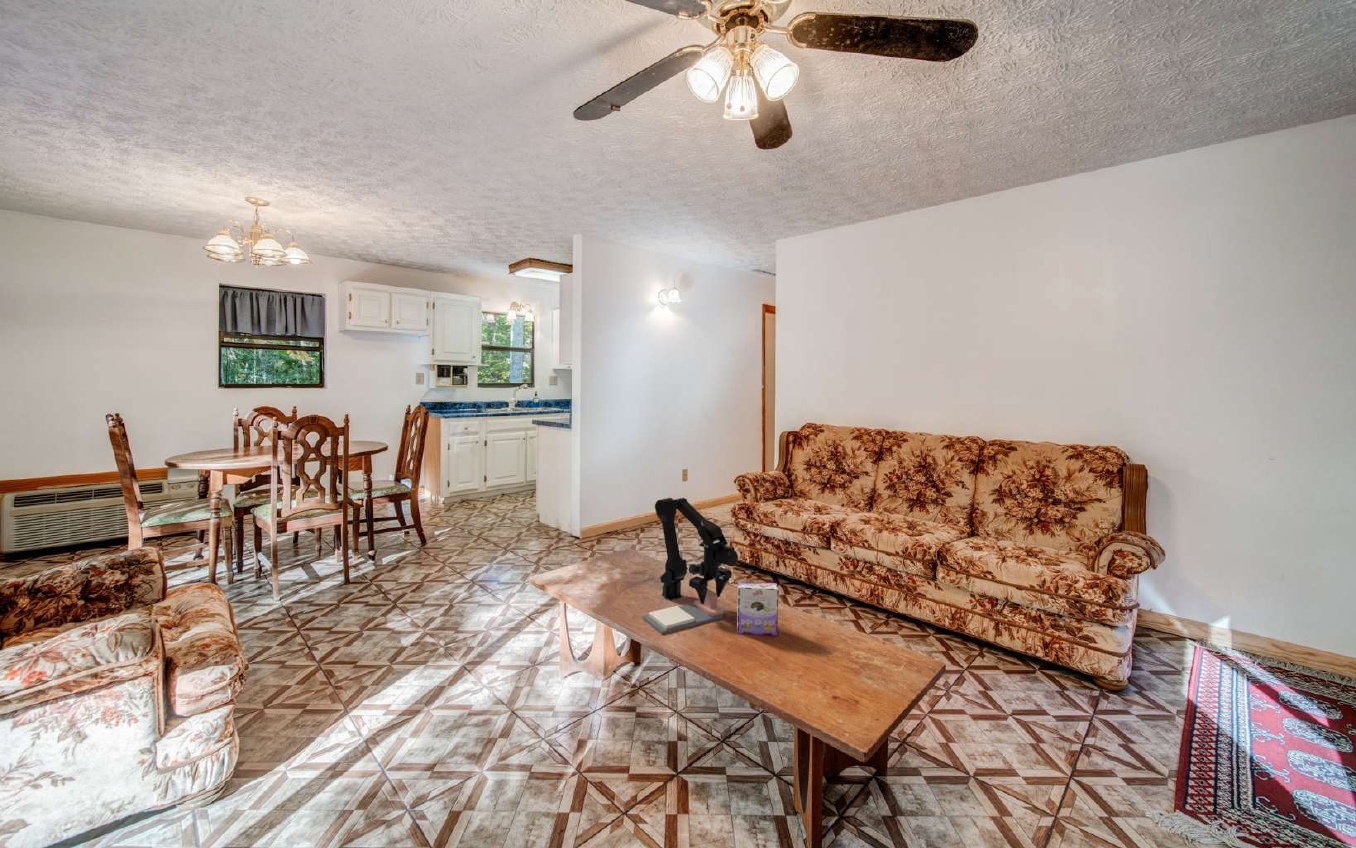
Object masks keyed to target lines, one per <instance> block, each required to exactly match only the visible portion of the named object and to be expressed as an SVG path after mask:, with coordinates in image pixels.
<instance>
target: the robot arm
mask: <svg viewBox="0 0 1356 848" xmlns="http://www.w3.org/2000/svg"><path fill="white" fill-rule="evenodd" d="M654 509H655V513H656V516H657V517H658V519H659V520H660V522H661V524H662V531H663V536H664V543H665V550H666V555H667V557H666V558H667V559H666V562H665V566H664V569H665V572H664V573H662V575H661V576H660V577H659V578H660V583H662V584H663V585H662V593H661V596H662V597H664V598H665V599H667V600H669V601H672V600H677V599H680V598H683V597H684V596H683V595H682V593H681V592H682V591H681V590H682V588H681V587H682V581H684V580H685V577H686V576H687V573H688V572H689V574H691V575H692V576H694V575H697V576H694V577H692V578H690V579H689V580H688V587H690V588H692V589H694V590H695V591H696V593H697V596H698V598H699V599H698V600H700V602H701V604H704V602H705V598H706V594H707V590H709V588H708V586H709V585H708V584H709V582H711V581H715V593H716V594H717V598H720V596H721V594H722V593H723V590H724V589H725V587H726V585H727V583H729V581H730V579H732V576H733V575H732V574H733V573H732V571H731V570H730V569H728V568H725V567H721V566H722V564H723V565H724V566H725V565H726V566H728V567H734V566H735V565H736V564H737V563H738V559H739V556H738V553H737V551H736V550H735V547H734V546H728V542H727V539H726V538H725V536H724V534H723V530H722V528H721V527H720V526H719V525H718V524H716V523H715V522H713V521H710V520H708V519H706V518H705V517H704V516H703V515H702V514H701V513H700V512H699V511H698V510H696V508H695V507H694V506H692V505H691V503H689V502H688V499H687V498H685V497H680V498H676V499H673V497H667V498H663V499H658V500H656V501H655V503H654ZM677 511H679V512H680V513H681V514H682V515H683V517H685V518H686V520H688V522H690V524H691V525H692V526H694V527H695V529H696V530H697V535H698V536H699V537H700V539H701V540H702V541H701V543H698V546H700V547H702V548H703V561H701V562H700V563H698V564H695V563H692V564H689V565H688V566H687V560H686V559H683V558H682V556H681V554H680V549H679V542H678V538H677V537H678V536H677V530H676V529H677V528H676V524H675V518H676V516H677ZM698 575H699V576H698Z"/></svg>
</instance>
